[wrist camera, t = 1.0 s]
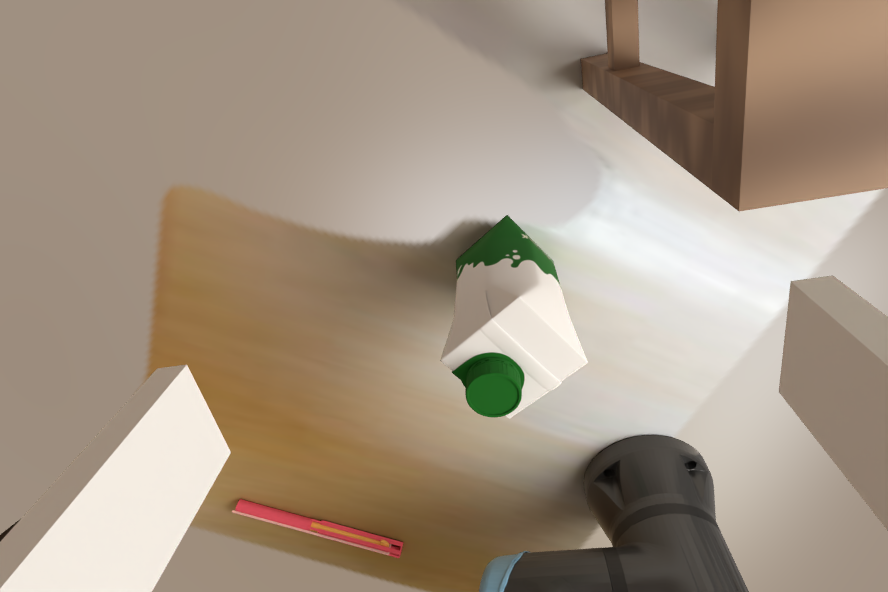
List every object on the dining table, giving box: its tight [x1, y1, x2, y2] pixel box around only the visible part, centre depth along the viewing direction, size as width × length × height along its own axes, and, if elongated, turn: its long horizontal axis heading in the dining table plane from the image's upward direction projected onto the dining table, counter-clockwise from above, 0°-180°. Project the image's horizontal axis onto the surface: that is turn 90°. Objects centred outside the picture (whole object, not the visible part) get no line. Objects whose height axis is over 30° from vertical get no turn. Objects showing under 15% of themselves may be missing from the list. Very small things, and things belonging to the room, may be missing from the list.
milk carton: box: [440, 215, 588, 418], centre depth 46 cm, size 9×9×20 cm
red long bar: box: [232, 499, 403, 558], centre depth 75 cm, size 24×2×5 cm
